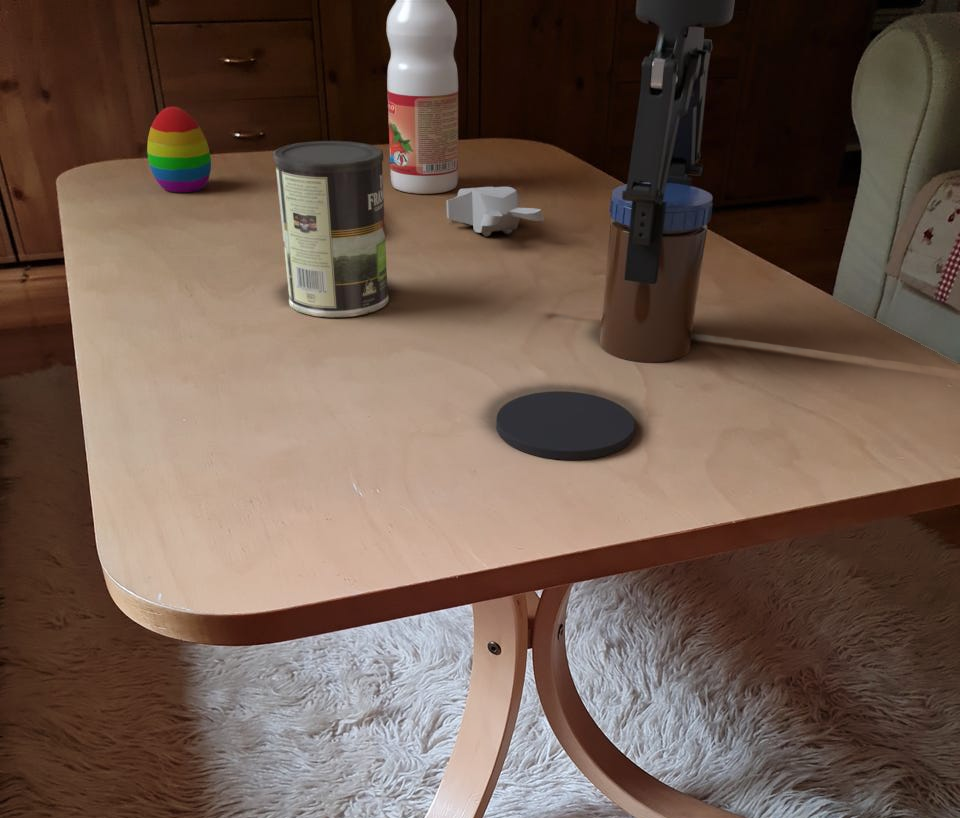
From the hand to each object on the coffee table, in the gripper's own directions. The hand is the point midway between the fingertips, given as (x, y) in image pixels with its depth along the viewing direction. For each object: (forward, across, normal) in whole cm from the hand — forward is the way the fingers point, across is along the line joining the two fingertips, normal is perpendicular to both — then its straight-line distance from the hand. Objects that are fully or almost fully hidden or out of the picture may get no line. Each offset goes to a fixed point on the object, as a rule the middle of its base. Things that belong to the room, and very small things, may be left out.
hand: (654, 265), depth 90 cm
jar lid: (-6, 0, 0) cm, 6 cm away
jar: (+7, 0, 0) cm, 7 cm away
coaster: (+7, +20, -1) cm, 21 cm away
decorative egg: (+8, -30, -73) cm, 80 cm away
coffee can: (+8, +1, -32) cm, 33 cm away
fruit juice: (+8, -45, -44) cm, 63 cm away
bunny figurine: (+8, -29, -27) cm, 40 cm away
